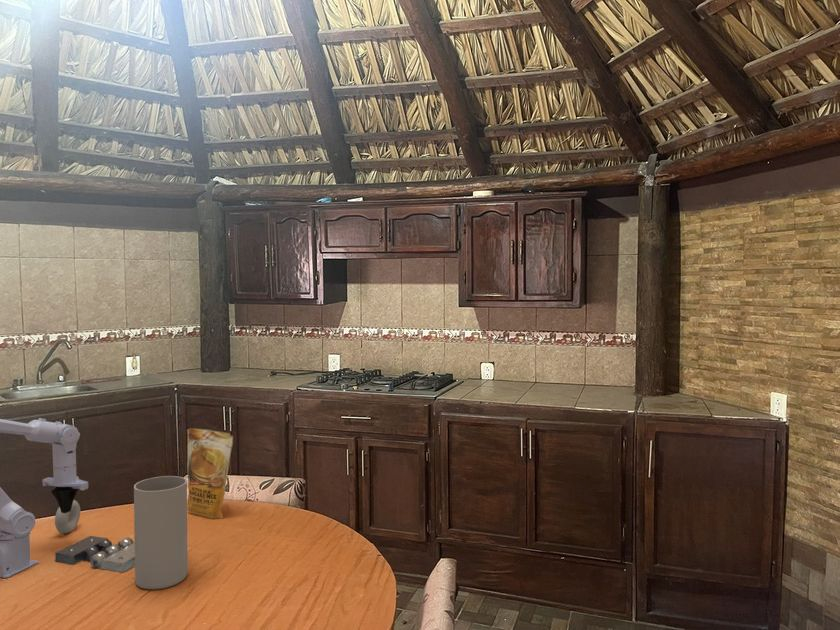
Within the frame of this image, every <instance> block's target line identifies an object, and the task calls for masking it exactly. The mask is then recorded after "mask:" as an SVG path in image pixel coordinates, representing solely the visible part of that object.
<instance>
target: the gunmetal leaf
mask: <svg viewBox="0 0 840 630" xmlns="http://www.w3.org/2000/svg"><path fill="white" fill-rule="evenodd" d="M112 545H113V542H112V541H111V540H110V539H109V538H107V537H101V536H95V535H89V536H87V537H85V538H83V539H81V540H79V541H75V543H72V544H69V546H66V547H64V548H62V549H60V550H57V551H56V552H55V554H54V556H55V558H54V559H55V560H54V561H55V563H61V564H68V565H76V564H78V563H80V562H83V561H84V562H90V558H91V557H92V556H93V555H95V554H96V553H98V552H100V551H103V552H104V551H105V549H106V548H108V547H110V546H112Z"/></svg>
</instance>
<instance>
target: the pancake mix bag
mask: <svg viewBox="0 0 840 630" xmlns="http://www.w3.org/2000/svg"><path fill="white" fill-rule="evenodd" d="M186 437H187V441H186V444H187V447H186V448H187V454H186V455H187V456H186V458H187V465H186V468H187V491H188V494H187V511H188V513H189V514H190V515H193V516H197V517H201V518H205V519H209V520H218V519H223V517H224V516H223V510H222V509H223V504H224V499H225V494H226V485H227V479H228V473H229V469H230V462H231V456H232V455H231V454H232V450H233V446H234V436H233V434H231V433H230V432H226V431H220V430H219V431H217V430H212V429H204V428H195V427H190V428H188V429H186Z"/></svg>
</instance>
